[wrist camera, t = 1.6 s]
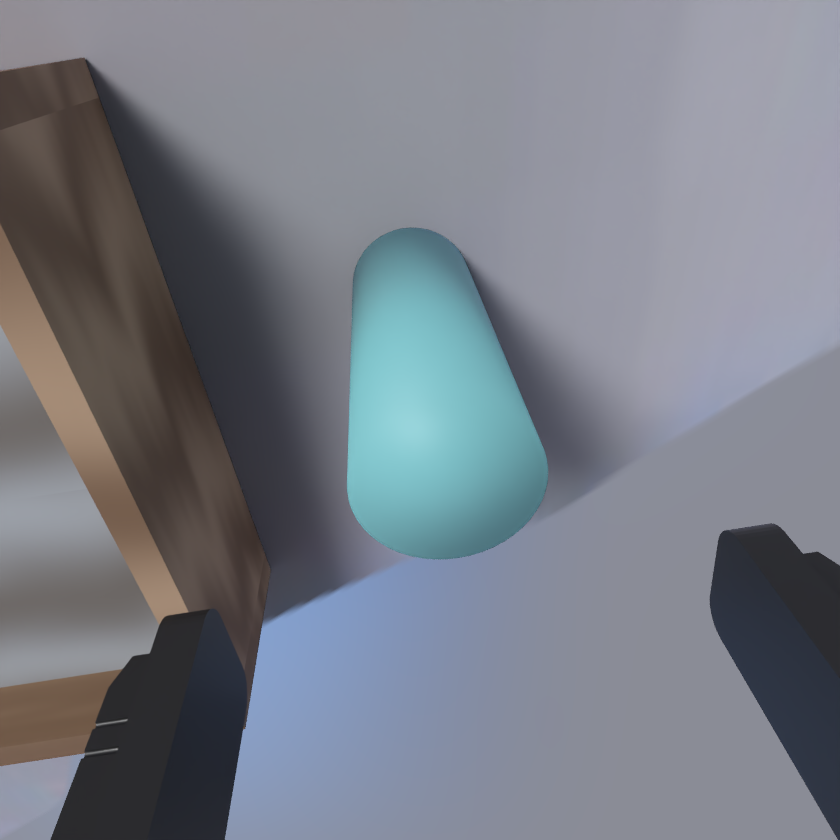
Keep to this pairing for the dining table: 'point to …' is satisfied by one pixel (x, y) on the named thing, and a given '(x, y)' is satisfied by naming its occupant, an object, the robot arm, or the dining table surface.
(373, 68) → the dining table surface
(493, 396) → the peg
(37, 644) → the bore box
